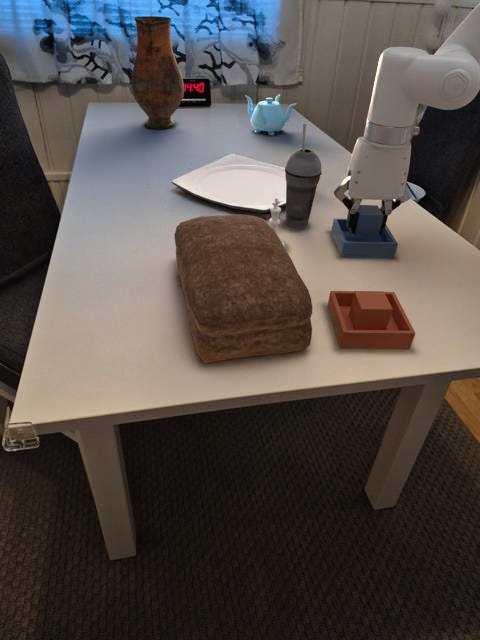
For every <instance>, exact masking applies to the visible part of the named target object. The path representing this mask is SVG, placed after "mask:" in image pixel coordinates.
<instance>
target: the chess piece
mask: <svg viewBox="0 0 480 640" xmlns="http://www.w3.org/2000/svg"><path fill="white" fill-rule="evenodd" d="M278 204H280V201H279V200H278V198H275V202H273V203H272V205H273V207H271V208H270V211H269V212H270V215H271V217H270V218H269V220H268V223H270V224H271V225H270V227H271V228H272V229H273V230H274V232H275V233H276V234H277V235H278V225H279V224H280V223H281V220H280V218H279V216H280V213H281V212H282V207H278ZM281 242H282V244H283V246H284V248H285V249H286V246H285V245H286V244H285V242H284V241H282V240H281Z"/></svg>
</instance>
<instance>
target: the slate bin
mask: <svg viewBox="0 0 480 640" xmlns="http://www.w3.org/2000/svg"><path fill="white" fill-rule="evenodd" d="M346 220H347V218H333V220H332V224H331V225H332V226H331V232H330V233H331V235H332V237H333V241H334V242H335V245H336V247H337V250H338V252H339V256H340V257H341V258H364V259H365V258H369V259H371V258H372V259H394V258H395V256H396V252H397V249H398V245H399V242H397V240H396V238H395V236H394V235H393V233H392V232H391V230H390V229H389V227H388V225H387V224H386V225H385V228H383V229H382V233H381V234H379V236H378V237H355V235H354V234H353V233H350V231H349V229H348V227H347V226H346Z"/></svg>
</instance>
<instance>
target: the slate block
mask: <svg viewBox="0 0 480 640" xmlns="http://www.w3.org/2000/svg"><path fill="white" fill-rule="evenodd" d="M379 208H380V207H379V205H375V204H374V205H373V204H360V206H359V208H358V211H357V213H358V220H357V224H356V229H355V233H354V235H355V237H378V236H379V232H380V228H381V224H382V221H383V217H384V215H383V213H382V212H381V210H380V209H379Z"/></svg>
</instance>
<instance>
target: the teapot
mask: <svg viewBox="0 0 480 640" xmlns="http://www.w3.org/2000/svg"><path fill="white" fill-rule="evenodd" d="M244 96H245V98H246V100H247V114H248V116H249V118H250V124H251V126H252V128H254V129H255V130H254V133H262V132H267V133H268V135H269V136H274V135H275V132H281V130H282V129H283V128H284V127H285V126H286V123H287V122H289V121H290V118H291V115H292V111H293V108H294V107H295V106H296V105H297V103H291V104H289V105H288V107H287V110H286V113H285V111H284V109H283V106H282V105H281V103H280V97H281V94H280V93H277V94H276V96H275V98H273V97H266V98H265V100H261V101H259V102H258V103H257V104H256V106H255V107H254V106H253V100H252V98H251V96H249V95H248V94H247V95H246V94H245V95H244Z"/></svg>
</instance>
